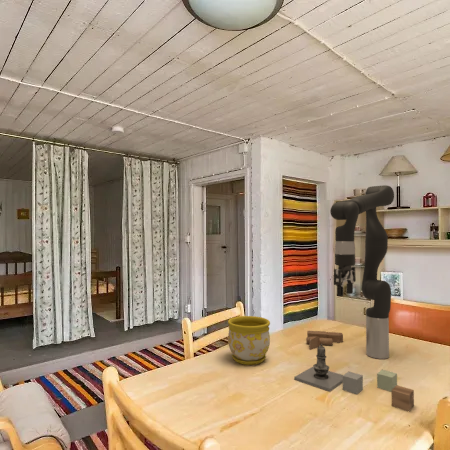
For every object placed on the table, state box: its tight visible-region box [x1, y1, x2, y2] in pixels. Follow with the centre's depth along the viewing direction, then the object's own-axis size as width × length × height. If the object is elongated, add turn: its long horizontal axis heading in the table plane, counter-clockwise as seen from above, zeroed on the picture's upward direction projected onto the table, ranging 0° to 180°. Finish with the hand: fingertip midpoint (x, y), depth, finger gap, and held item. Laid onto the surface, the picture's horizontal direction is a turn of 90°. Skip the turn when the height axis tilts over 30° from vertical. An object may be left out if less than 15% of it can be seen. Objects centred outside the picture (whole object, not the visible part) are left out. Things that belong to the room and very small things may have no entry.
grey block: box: [342, 371, 364, 395], centre depth 119 cm, size 5×5×5 cm
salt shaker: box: [312, 344, 330, 380], centre depth 128 cm, size 6×6×12 cm
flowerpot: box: [227, 315, 271, 366], centre depth 147 cm, size 18×18×16 cm
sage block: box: [376, 369, 398, 393], centre depth 121 cm, size 5×5×5 cm
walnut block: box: [391, 384, 415, 412], centre depth 108 cm, size 5×5×5 cm
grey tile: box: [293, 366, 344, 393], centre depth 127 cm, size 14×14×1 cm
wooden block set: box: [305, 330, 344, 351], centre depth 166 cm, size 17×6×18 cm
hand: (345, 294), depth 134 cm, fingers open, 8 cm apart
